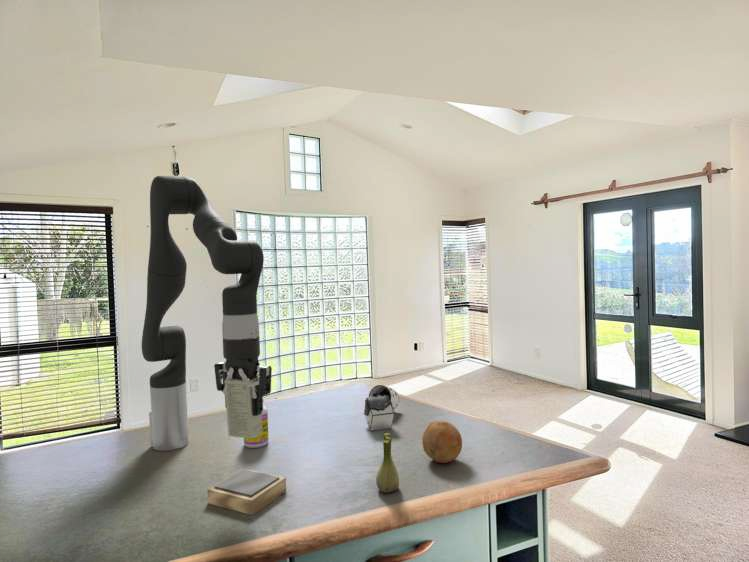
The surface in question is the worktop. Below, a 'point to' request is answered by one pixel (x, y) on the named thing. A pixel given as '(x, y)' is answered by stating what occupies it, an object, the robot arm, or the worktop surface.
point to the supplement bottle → (263, 436)
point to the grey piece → (380, 407)
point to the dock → (246, 491)
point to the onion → (442, 441)
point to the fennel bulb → (387, 469)
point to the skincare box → (241, 410)
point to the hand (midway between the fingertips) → (244, 412)
